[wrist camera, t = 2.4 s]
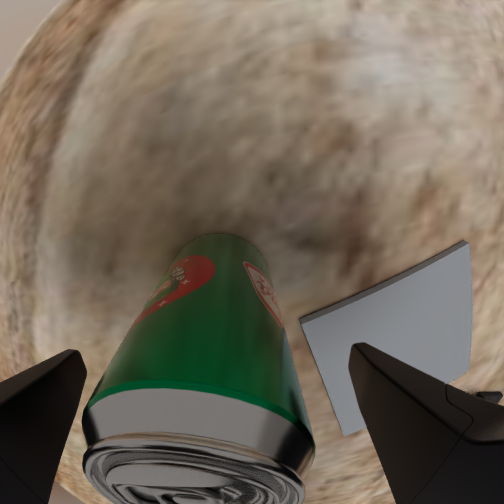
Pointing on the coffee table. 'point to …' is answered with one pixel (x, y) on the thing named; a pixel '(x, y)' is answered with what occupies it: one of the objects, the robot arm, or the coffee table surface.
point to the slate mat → (398, 327)
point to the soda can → (202, 391)
